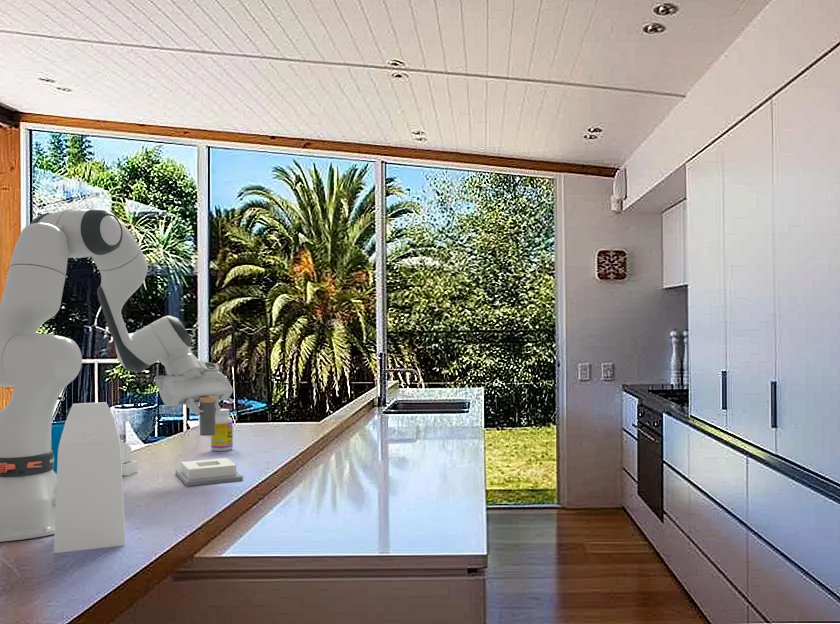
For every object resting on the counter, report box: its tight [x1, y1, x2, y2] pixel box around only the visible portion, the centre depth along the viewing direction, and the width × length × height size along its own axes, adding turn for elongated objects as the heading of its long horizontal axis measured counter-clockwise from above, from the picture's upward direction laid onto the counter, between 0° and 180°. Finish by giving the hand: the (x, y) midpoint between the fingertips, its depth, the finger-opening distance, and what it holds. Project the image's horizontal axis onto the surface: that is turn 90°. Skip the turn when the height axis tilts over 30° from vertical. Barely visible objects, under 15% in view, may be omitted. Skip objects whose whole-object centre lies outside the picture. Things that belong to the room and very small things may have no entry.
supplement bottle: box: [210, 408, 234, 452], centre depth 246 cm, size 7×7×13 cm
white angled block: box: [120, 439, 139, 476], centre depth 209 cm, size 4×10×9 cm, turn 168°
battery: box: [198, 396, 216, 437], centre depth 204 cm, size 4×4×10 cm
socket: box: [175, 457, 244, 487], centre depth 204 cm, size 18×14×4 cm
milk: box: [53, 401, 126, 554], centre depth 146 cm, size 12×12×26 cm
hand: (208, 412), depth 203 cm, fingers closed on battery, 4 cm apart
